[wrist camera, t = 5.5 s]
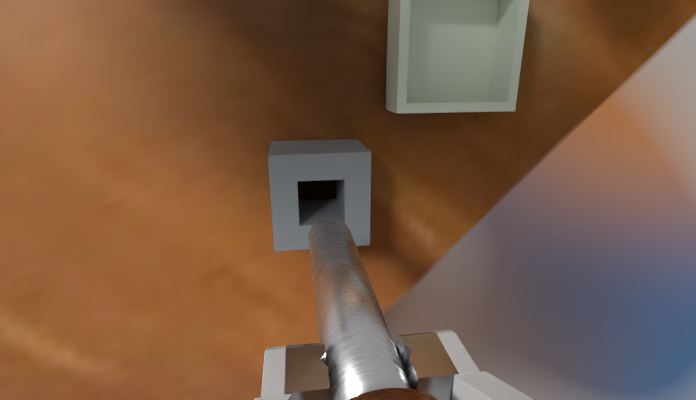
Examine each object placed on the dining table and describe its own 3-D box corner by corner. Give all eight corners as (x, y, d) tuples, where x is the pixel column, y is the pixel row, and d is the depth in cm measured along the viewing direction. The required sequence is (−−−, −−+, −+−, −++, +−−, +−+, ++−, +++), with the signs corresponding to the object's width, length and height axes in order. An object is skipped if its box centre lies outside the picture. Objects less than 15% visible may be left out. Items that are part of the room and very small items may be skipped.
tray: (388, -20, 25) (401, -32, 22) (505, -16, 26) (532, -27, 23) (385, 109, 27) (396, 113, 24) (492, 107, 28) (515, 111, 25)
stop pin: (292, 206, 17) (303, 480, 6) (364, 203, 17) (505, 449, 6) (296, 271, 18) (310, 609, 7) (363, 266, 18) (482, 576, 7)
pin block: (271, 141, 27) (267, 155, 22) (357, 138, 27) (371, 152, 23) (276, 222, 28) (274, 251, 24) (356, 217, 29) (369, 245, 25)
